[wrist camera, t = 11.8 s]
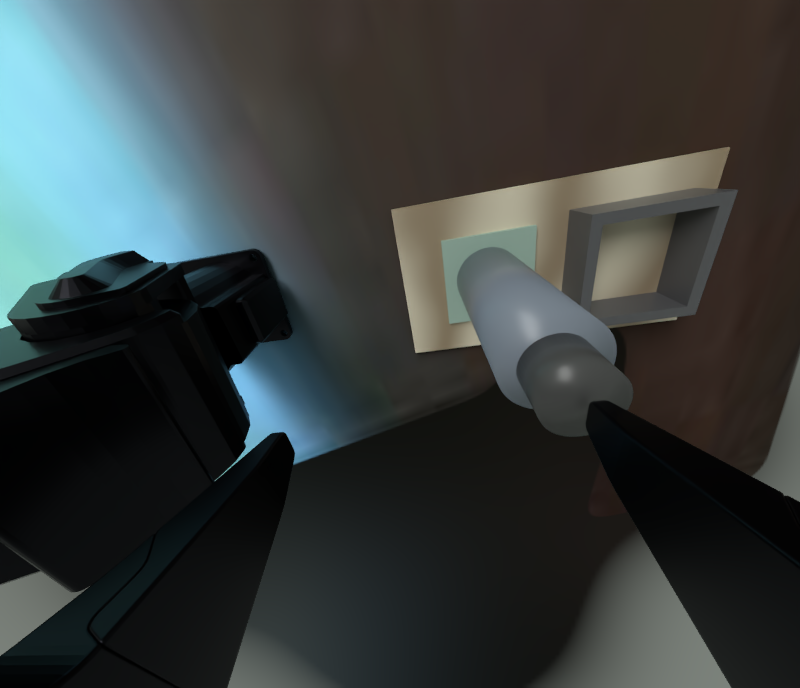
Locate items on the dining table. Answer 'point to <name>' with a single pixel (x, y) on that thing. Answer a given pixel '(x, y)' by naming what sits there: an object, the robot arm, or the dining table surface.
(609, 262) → the board
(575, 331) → the capped bottle
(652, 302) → the gray square frame
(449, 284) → the pad
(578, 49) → the dining table surface
